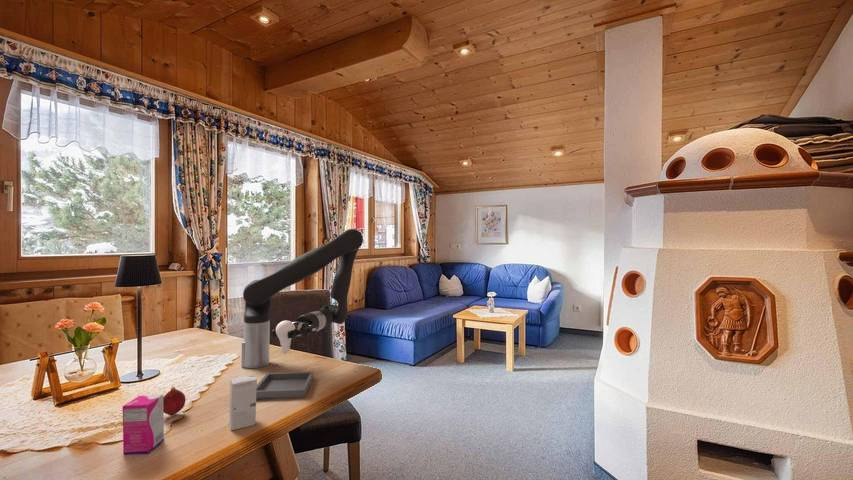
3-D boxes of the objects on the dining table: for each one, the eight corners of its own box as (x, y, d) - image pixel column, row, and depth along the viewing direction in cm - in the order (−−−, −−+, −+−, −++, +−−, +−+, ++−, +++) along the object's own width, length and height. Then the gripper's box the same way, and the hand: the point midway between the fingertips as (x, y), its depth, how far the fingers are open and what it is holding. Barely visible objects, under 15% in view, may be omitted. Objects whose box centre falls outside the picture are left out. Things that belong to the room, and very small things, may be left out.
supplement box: (139, 441, 89) (139, 394, 89) (164, 440, 89) (165, 393, 89) (121, 455, 83) (121, 405, 83) (148, 454, 83) (149, 404, 83)
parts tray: (250, 400, 112) (250, 392, 112) (266, 380, 128) (267, 373, 128) (304, 397, 114) (304, 389, 114) (313, 378, 130) (313, 371, 130)
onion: (190, 412, 103) (190, 384, 103) (170, 422, 98) (170, 392, 98) (175, 409, 105) (175, 381, 105) (155, 418, 100) (155, 389, 100)
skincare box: (230, 431, 94) (231, 384, 94) (228, 424, 97) (229, 378, 97) (256, 424, 97) (257, 379, 97) (253, 417, 101) (254, 374, 101)
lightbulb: (298, 350, 124) (298, 318, 124) (290, 356, 118) (290, 323, 118) (281, 350, 124) (281, 318, 124) (272, 356, 118) (272, 322, 118)
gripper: (294, 311, 137) (262, 321, 120) (328, 314, 132) (299, 324, 116) (294, 331, 137) (262, 343, 120) (328, 334, 133) (299, 348, 116)
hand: (280, 334), depth 118 cm, fingers closed on lightbulb, 5 cm apart
